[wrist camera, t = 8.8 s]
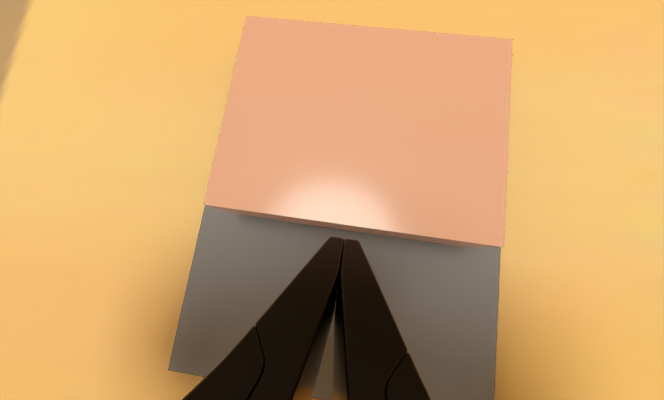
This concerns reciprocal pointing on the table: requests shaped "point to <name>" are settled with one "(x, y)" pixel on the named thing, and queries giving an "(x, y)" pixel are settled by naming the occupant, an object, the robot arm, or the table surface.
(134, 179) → the table surface
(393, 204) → the salmon pink block
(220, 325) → the mat
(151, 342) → the table surface
